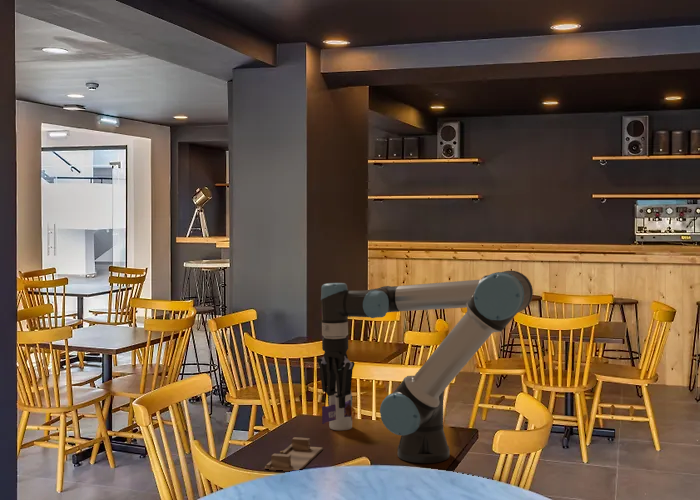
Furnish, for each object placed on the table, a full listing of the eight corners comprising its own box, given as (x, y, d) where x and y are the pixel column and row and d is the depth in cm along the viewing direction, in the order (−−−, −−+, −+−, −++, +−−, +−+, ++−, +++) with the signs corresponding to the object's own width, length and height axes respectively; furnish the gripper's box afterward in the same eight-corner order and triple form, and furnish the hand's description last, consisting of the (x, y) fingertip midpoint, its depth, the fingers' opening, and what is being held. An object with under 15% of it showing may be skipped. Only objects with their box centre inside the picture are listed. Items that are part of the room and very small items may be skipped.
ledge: (291, 447, 235) (291, 435, 235) (322, 449, 232) (322, 437, 232) (264, 469, 213) (264, 456, 213) (298, 472, 211) (298, 459, 211)
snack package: (324, 424, 217) (324, 407, 217) (320, 423, 218) (319, 406, 218) (353, 417, 225) (353, 400, 225) (349, 416, 226) (348, 399, 226)
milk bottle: (350, 431, 252) (349, 370, 251) (327, 430, 253) (326, 370, 253) (354, 425, 260) (353, 366, 259) (331, 424, 261) (331, 366, 260)
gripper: (307, 336, 224) (309, 416, 224) (343, 340, 213) (345, 425, 213) (326, 333, 229) (328, 411, 229) (362, 337, 218) (364, 420, 219)
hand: (336, 418), depth 221 cm, fingers closed on snack package, 2 cm apart
